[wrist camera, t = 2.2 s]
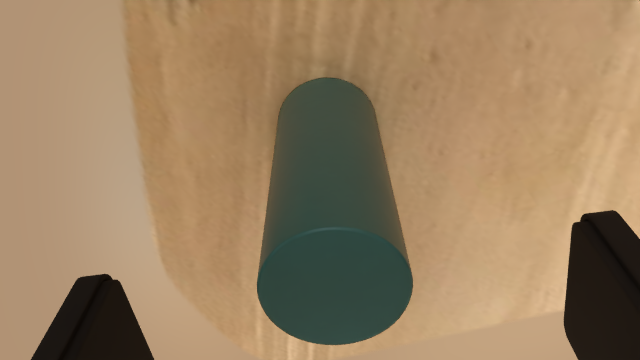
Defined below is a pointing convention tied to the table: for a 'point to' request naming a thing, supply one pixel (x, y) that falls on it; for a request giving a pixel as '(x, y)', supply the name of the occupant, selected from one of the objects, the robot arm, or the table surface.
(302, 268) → the peg
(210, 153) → the table surface
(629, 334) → the robot arm
